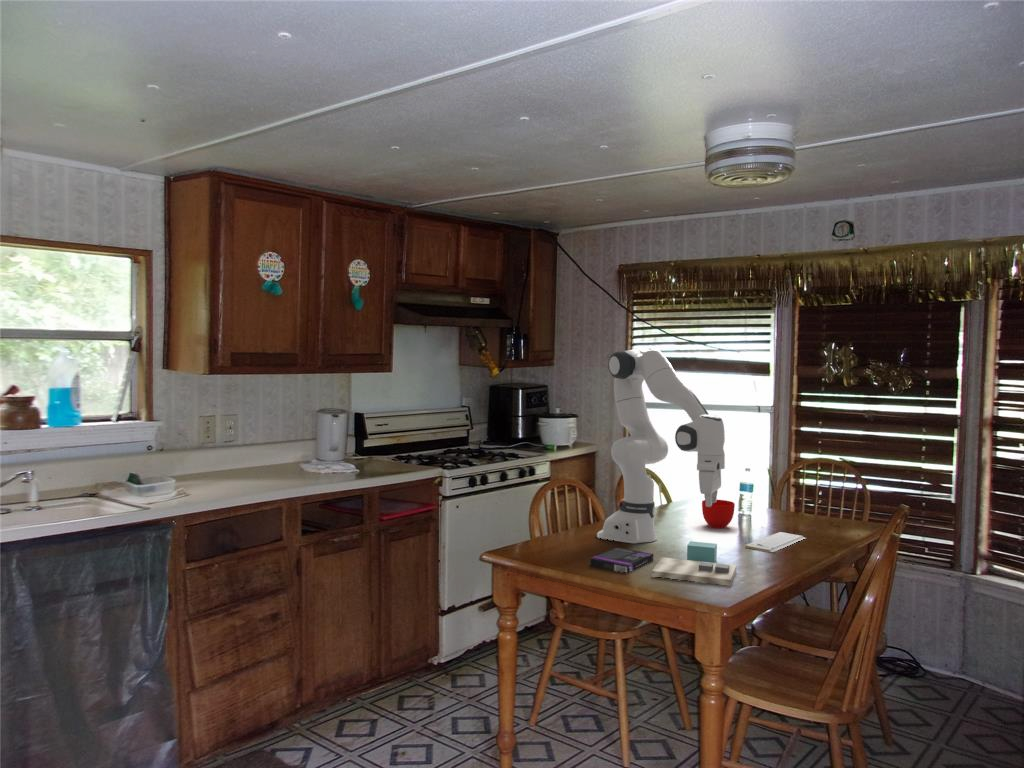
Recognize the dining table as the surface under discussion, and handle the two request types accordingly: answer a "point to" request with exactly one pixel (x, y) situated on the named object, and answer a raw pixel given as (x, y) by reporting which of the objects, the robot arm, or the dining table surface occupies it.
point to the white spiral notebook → (775, 542)
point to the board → (692, 571)
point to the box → (621, 559)
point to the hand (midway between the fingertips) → (711, 504)
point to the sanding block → (702, 552)
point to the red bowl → (718, 513)
